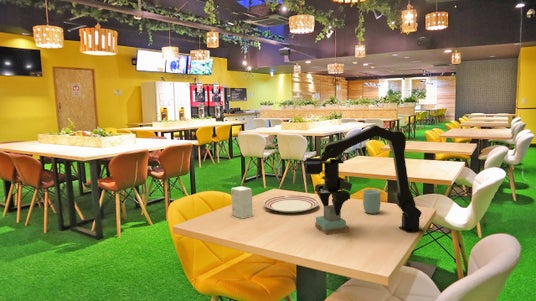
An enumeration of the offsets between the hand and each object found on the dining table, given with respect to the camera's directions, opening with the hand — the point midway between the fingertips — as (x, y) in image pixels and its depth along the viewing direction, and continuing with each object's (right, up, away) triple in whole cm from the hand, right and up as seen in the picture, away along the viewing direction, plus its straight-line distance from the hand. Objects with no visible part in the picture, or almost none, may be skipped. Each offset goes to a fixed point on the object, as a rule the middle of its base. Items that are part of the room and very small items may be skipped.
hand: (331, 212), depth 153 cm
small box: (-38, -6, +23) cm, 45 cm away
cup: (+22, -4, +22) cm, 32 cm away
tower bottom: (0, -8, +1) cm, 8 cm away
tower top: (0, -5, +1) cm, 5 cm away
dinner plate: (-14, -4, +35) cm, 38 cm away
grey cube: (0, -3, 0) cm, 3 cm away
